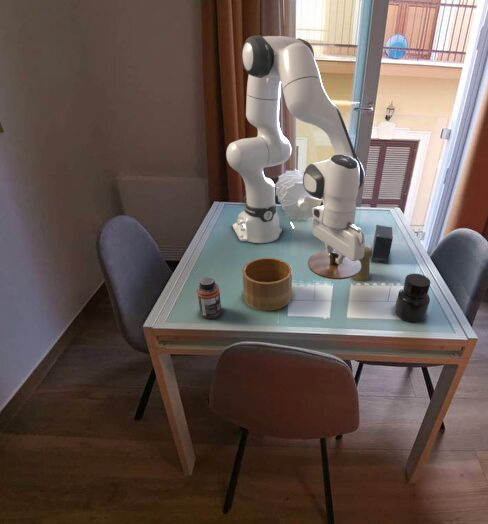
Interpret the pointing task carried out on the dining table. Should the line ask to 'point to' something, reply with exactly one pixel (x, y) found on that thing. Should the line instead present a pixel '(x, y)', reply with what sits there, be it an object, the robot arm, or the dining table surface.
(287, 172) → the spiral staircase
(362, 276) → the tan pawn
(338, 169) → the robot arm
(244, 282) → the round wooden box
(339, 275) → the lid
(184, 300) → the dining table surface
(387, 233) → the small box
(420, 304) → the ink bottle
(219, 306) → the supplement bottle
